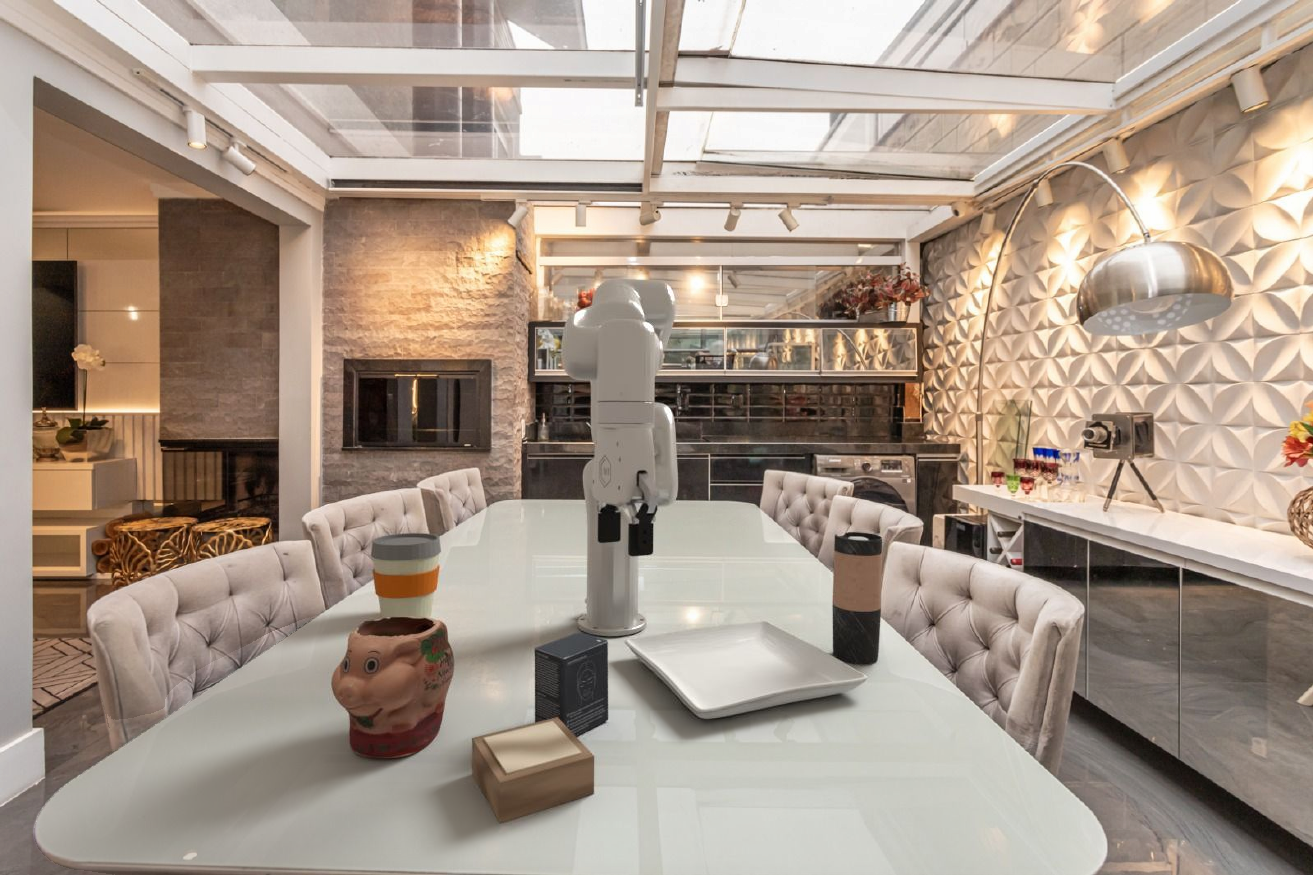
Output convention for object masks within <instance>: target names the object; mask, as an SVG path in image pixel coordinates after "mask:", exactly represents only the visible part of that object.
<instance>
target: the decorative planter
mask: <svg viewBox="0 0 1313 875" xmlns="http://www.w3.org/2000/svg"><path fill="white" fill-rule="evenodd" d="M454 657H455V656H454V652H453V648H452V646H451V644H450V642H449V634H448V628H447V625H446V623H444V622H443V621H442V620H438V619H434V618H432V617H429V618H427V617H415V616H399V617H387V618H377V619H372V620H364V621H363V622H362V623H360V624H359V625H358V626H357V627H356V628H355V629H354V630H353V631H352V632H350V634H349V635H348V639H347V648H346V652H345V656H344V658H343V659H342V660H341V662H339V665H338V666H337V667H336V668H335V670H334V671H333V673H332V677H331V691H332V694H333V696H334V698H335V699H336V701H337V702H338V703H339V705H340V706H341V707H342V708H344V709H345V710H346V712H347V713H348V718H349V719H348V720H349V730H348V731H349V732H348V733H349V734H348V736H349V746H350V749H351V751H353V752H355V754H358V755H360V756H363V757H367V758H377V759H393V758H394V759H395V758H401V757H407V756H410V755H413V754H416V753H418V752H419V751H422V750H424V749H425V748H426V747H428V746H429V745H430V744H431V743H432V742H433V741H434V740H435V738H436V737H437V736H438V735H439V733H440V728H441V726H442V722H443V717H444V712H445V705H446V700H447V695H448V692H449V688H450V686H451V682H452V680H453V677H454V672H455V658H454Z"/></svg>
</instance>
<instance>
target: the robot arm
mask: <svg viewBox="0 0 1313 875" xmlns="http://www.w3.org/2000/svg"><path fill="white" fill-rule="evenodd" d="M591 303H592V304H591V305H589V306H587V307H584V308H581V309H579V310H576V311H574V312H573V313H571V314H570V315H569V317H567V319H566V321H565V324H564V327H563V331H562V332H563V333H562V339H561V346H560V356H561V364H562V365H561V366H562V368H563V371H564V372H565V373H566V375H567V376H569V377H570V378H571V379H572V380H573V379H574V380H577V381H589V382H590V430H591V431H590V433H591V440H592V443H593V445H594V454H593V458H592V459H591V460H589V461H588V462H586V464H585V466H584V468H583V470H582V471H583V472H582V486H583V487H582V488H583V494H584V500H585V501H584V502H585V509H586V510H585V511H586V512H585V513H586V538H587V539H586V545H587V546H586V597H585V599H584V603H585V604H586V613H585V614H583V615H581V616H580V617H579V618H578V619H577V620H578V621H577V626H578V628H579V630H581V632H583V633H585V634H588V635H592V636H599V637H600V636H601V637H622V636H630V635H632V634H633V635H634V634H636V633H639V632H641V631H643V630H644V629H645V628H646V626H647V619H646V617H645V616H644V615H643V614H642V613H639V557H641V556H642V557H643V556H651V555H653V554H654V524H655V523H656V514H657V513H658V512H657V511H658V508H667V507H669V506H672V505H673V504H674V503H675V502H676V499H677V497H678V492H679V473H678V457H677V456H678V455H677V438H676V437H677V435H676V423H675V417H674V413H673V411H672V410H671V408H670V407H669V406H668V405H666V404H664V403H662V402H656V401H655V391H656V390H655V386H656V384H655V380H656V379H655V378H656V376H657V375H658V373H659V371H661V370H662V367H663V364H664V351H665V350H666V348H667V347H668V344H669V341H670V340H669V339H670V336H671V333H672V330H673V326H674V322H675V319H676V307H677V306H676V297H675V293H674V291H673V289H672V287H671V286H670V285H669V284H668V283H667V282H665V281H662V280H657V279H635V278H634V279H633V278H632V279H631V278H630V279H629V278H627V279H626V278H614V279H609V280H606V281H604V282H602V283H600V285H598V286H597V288H596V289H595V291H594V292H593V294H592V301H591ZM637 508H639V509H637ZM625 509H627V511H628V514H629V515H628V514H627V512H626V511H625Z"/></svg>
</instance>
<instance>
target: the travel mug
mask: <svg viewBox="0 0 1313 875" xmlns="http://www.w3.org/2000/svg"><path fill="white" fill-rule="evenodd" d="M833 543H834V547H833V576H832V577H833V579H832V654H833V655H832V656H833V657H835V658H837V659H838V660H840V661H842V662H843V663H845V664H851V665H856V666H857V665H859V666H863V665H864V666H865V665H868V666H869V665H872V664H875V663H877V662H878V661H879V660H878V659H879V651H880V650H879V649H880V635H881V617H882V616H881V615H882V589H883V588H882V586H883V585H882V584H883V582H882V578H883V577H882V575H883V572H882V571H883V537H882V536H880V535H878V534H875V533H874V534H873V533H868V532H861V531H860V532H859V531H858V532H857V531H848V532H847V531H846V533H844V535H839V536H838V535H837V533H835V534H834V542H833Z"/></svg>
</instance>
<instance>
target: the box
mask: <svg viewBox="0 0 1313 875" xmlns="http://www.w3.org/2000/svg"><path fill="white" fill-rule="evenodd" d="M556 717H558V718H559V719H560V720H561V721H562V722H563V723H564V724H565V726H566V727H567V728H568V729H569V730H570V731H571V732H572V733H573V734H574V735H575V736H576V737H578V736H580V735H582V734H584V733H585V732H588V731H589V730H591V729H593V728H596V727H597V726H599V725H601V724H603V723H605V722H606V721H608V720H609V641H608V640H607V639H603V638H600V637H597V636H595V635H592V634H589V633H586V632H582V631H581V632H580V631H578V632H576V633H572V634H570V635H567V636H564V637H561V638H559V639H555V640H553V641H550V642H547V643H544V644H542V645H540V646H536V647H535V648H534V723H536V722H540V721H544V720H548V719H552V718H556Z"/></svg>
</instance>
